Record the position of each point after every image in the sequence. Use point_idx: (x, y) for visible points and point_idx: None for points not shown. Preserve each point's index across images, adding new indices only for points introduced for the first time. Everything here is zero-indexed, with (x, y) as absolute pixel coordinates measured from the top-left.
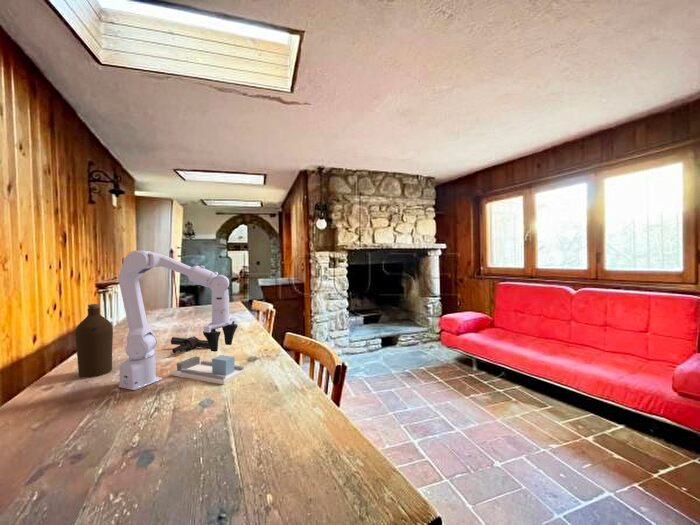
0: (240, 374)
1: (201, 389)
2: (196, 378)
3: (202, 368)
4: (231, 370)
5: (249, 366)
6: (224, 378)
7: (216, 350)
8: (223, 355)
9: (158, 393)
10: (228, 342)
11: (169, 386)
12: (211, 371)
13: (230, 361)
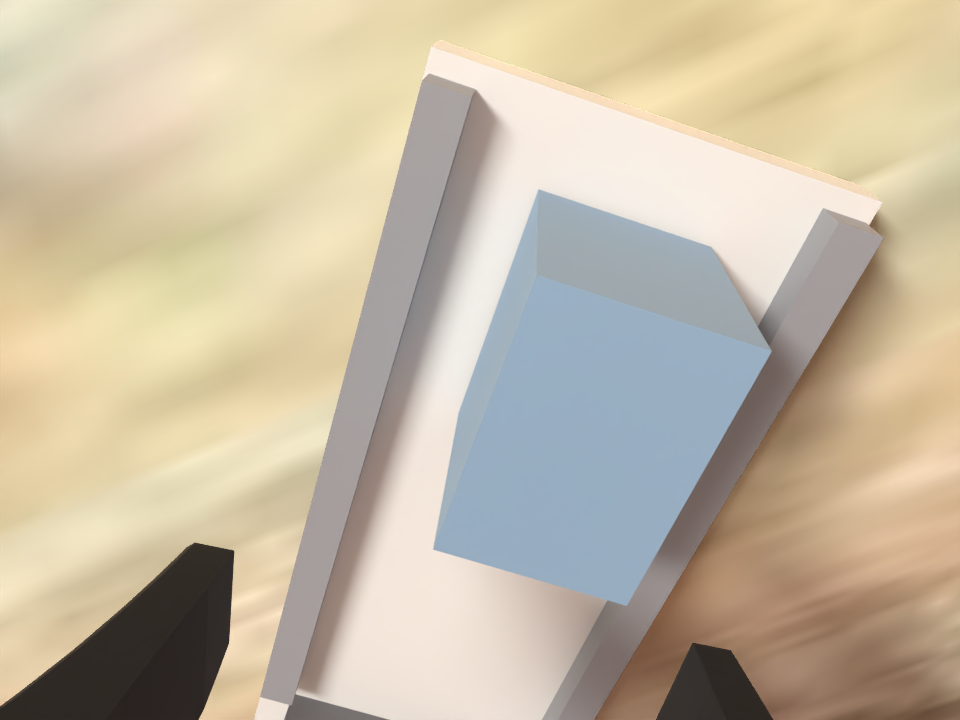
0: (538, 78)
1: (953, 398)
2: None
3: (437, 616)
4: (602, 220)
5: (139, 94)
6: (845, 216)
7: (733, 663)
8: (453, 501)
9: (955, 709)
10: (206, 633)
11: (799, 697)
12: None
13: (640, 285)
